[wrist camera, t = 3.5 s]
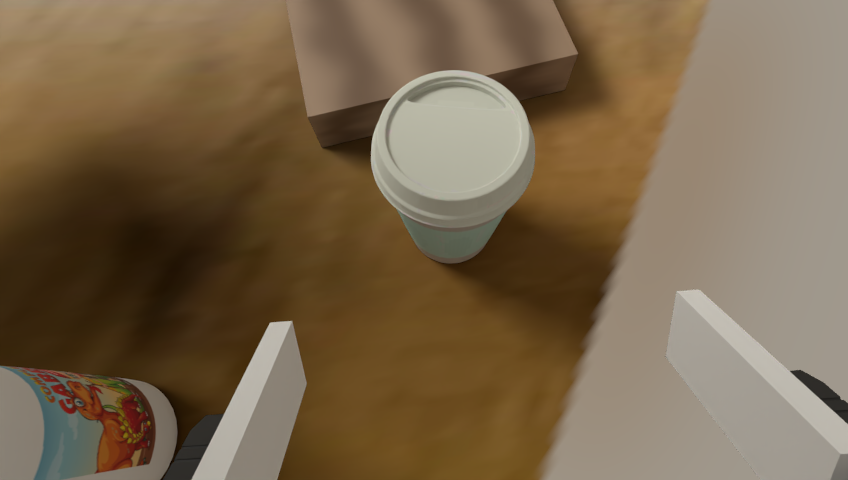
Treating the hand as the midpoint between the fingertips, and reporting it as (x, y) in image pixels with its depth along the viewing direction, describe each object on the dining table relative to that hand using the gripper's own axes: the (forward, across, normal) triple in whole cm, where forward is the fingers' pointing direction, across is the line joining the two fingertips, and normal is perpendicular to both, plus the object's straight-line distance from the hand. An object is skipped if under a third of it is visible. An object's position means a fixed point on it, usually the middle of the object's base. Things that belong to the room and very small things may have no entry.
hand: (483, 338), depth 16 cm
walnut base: (+31, -2, +10) cm, 33 cm away
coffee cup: (+18, 0, -3) cm, 18 cm away
